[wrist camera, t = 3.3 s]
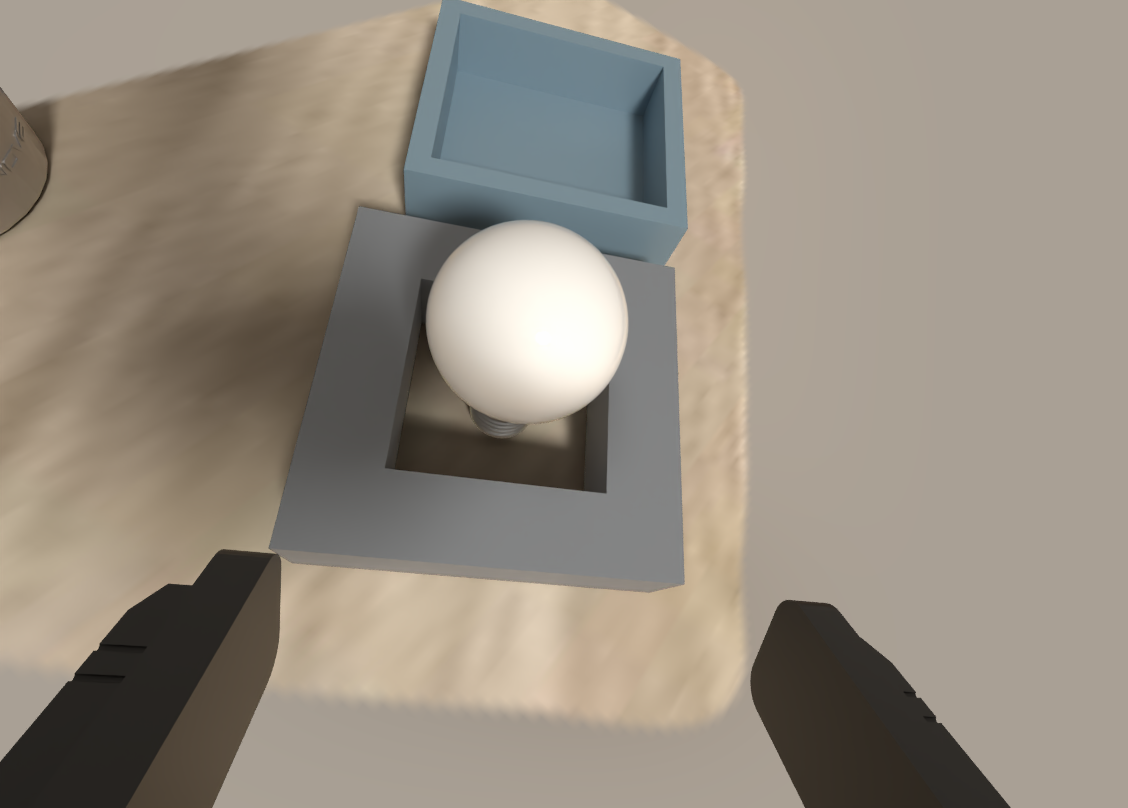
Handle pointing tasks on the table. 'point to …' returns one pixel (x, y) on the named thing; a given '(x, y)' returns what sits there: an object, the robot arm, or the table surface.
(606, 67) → the parts tray
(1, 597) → the table surface
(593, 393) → the lightbulb
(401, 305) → the socket block
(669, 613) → the table surface
